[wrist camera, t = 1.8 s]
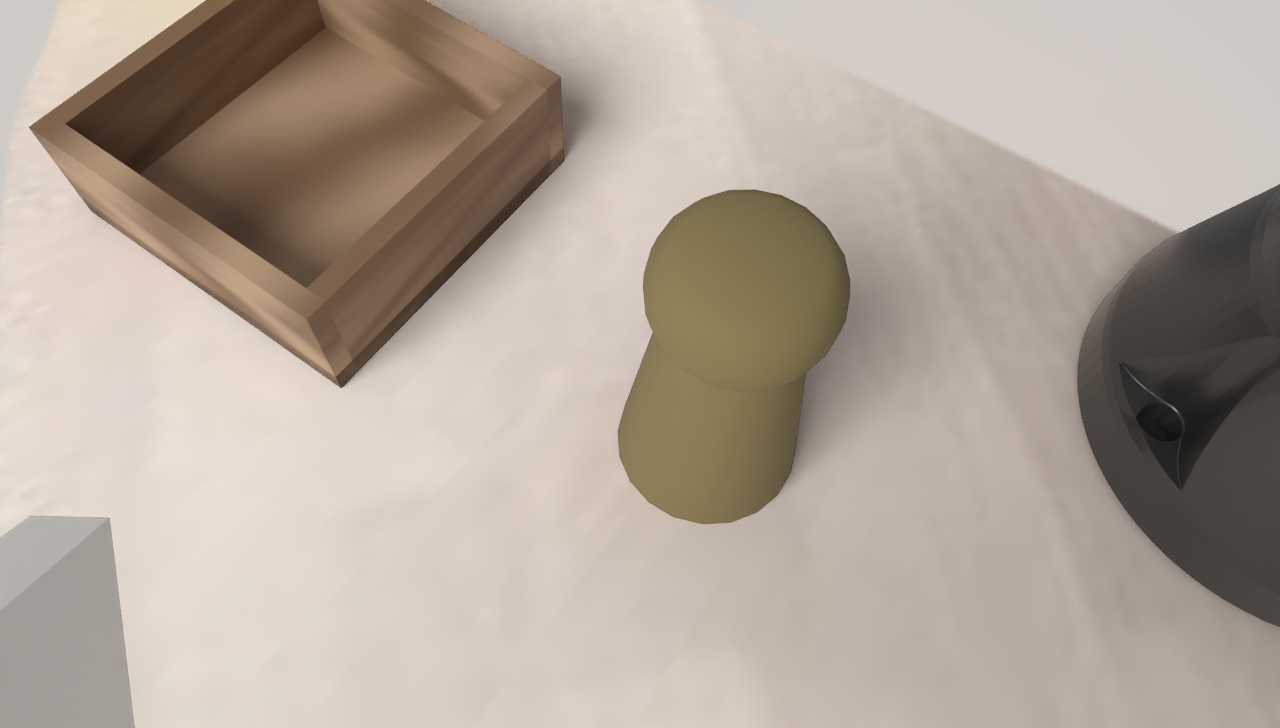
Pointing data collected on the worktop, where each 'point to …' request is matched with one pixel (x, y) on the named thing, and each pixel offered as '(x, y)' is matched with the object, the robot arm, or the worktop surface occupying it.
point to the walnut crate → (313, 159)
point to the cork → (729, 352)
